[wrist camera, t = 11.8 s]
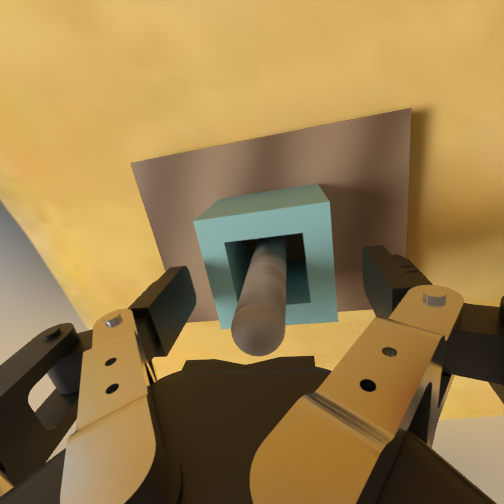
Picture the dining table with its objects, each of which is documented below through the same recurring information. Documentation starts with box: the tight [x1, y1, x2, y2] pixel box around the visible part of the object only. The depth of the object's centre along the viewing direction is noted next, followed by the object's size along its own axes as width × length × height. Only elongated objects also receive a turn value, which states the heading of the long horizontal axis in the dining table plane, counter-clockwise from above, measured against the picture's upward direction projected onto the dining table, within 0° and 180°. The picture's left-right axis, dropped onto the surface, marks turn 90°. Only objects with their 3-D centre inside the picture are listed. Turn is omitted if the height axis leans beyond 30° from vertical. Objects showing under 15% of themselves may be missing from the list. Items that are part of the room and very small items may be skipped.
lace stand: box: [130, 108, 411, 356], centre depth 13 cm, size 16×12×11 cm
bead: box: [193, 184, 338, 329], centre depth 15 cm, size 6×6×5 cm
